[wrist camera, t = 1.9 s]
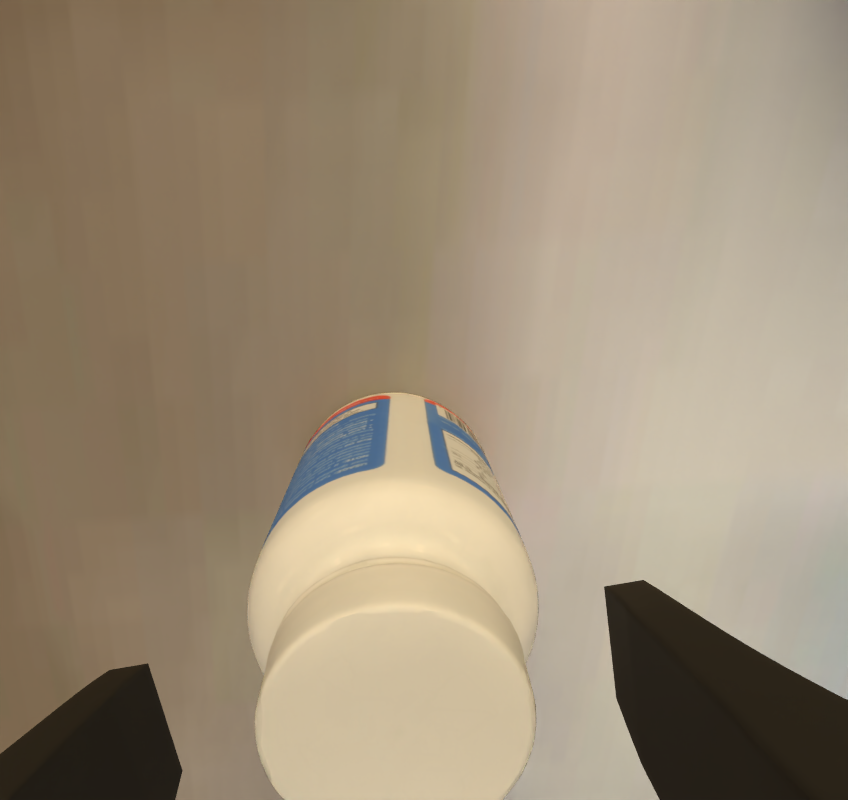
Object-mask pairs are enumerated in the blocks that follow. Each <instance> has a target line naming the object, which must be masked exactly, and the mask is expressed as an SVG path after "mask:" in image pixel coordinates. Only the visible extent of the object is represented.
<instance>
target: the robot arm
mask: <svg viewBox="0 0 848 800" xmlns="http://www.w3.org/2000/svg"><path fill="white" fill-rule="evenodd" d="M604 589H605V598H606V607H607V616H608V625H609V634H610V644H611V653H612V662H613V671H614V680H615V689H616V698H617V701H618V704H619V706H620V709H621V712H622V714H623V717H624V720H625V722H626V725H627V728H628V730H629V733H630V736H631V738H632V741H633V743H634V746H635V748H636V751H637V753H638V756H639V759H640V761H641V764H642V766H643V768H644V770H645V772H646V774H647V776H648V778H649V779H650V781H651V783H652V785H653V787H654V789H655V791H656V793H657V795H658V797H659V799H660V800H848V700H846V699H844V698H842V697H840V696H838V695H836V694H834V693H832V692H830V691H829V690H827V689H825V688H823V687H821V686H819V685H817V684H816V683H814V682H812V681H810V680H808V679H806V678H804V677H802V676H801V675H799V674H797V673H795V672H793V671H791V670H789V669H788V668H786V667H784V666H782V665H780V664H779V663H777V662H775V661H773V660H772V659H770V658H768V657H766V656H765V655H763V654H761V653H759V652H758V651H756V650H754V649H753V648H751V647H749V646H748V645H746V644H744V643H742V642H741V641H739V640H738V639H736V638H734V637H733V636H731V635H729V634H728V633H726V632H724V631H723V630H721V629H720V628H718V627H716V626H715V625H713V624H712V623H710V622H708V621H707V620H705V619H704V618H702V617H701V616H699V615H697V614H696V613H694V612H693V611H691V610H690V609H688V608H687V607H685V606H683V605H682V604H680V603H679V602H677V601H676V600H674V599H673V598H671V597H670V596H668V595H666V594H665V593H663V592H662V591H660V590H659V589H657V588H656V587H654V586H652V585H651V584H649V583H647V582H646V581H644V580H641V581H635V582H629V583H623V584H617V585H611V586H605V587H604ZM181 774H182V768H181V765H180V762H179V759H178V756H177V753H176V749H175V746H174V743H173V740H172V737H171V734H170V731H169V728H168V725H167V721H166V718H165V715H164V712H163V709H162V706H161V703H160V700H159V697H158V693H157V690H156V687H155V684H154V681H153V678H152V675H151V672H150V668H149V665H148V664H143V665H137V666H131V667H125V668H119V669H113V670H109V671H108V672H106V673H105V674H103V675H102V676H100V677H99V678H97V679H96V680H94V681H93V682H92V683H90V684H89V685H87V686H86V687H85V688H83V689H82V690H81V691H79V692H78V693H77V694H75V695H74V696H73V697H72V698H70V699H69V700H68V701H66V702H65V703H64V704H63V705H61V706H60V707H59V708H58V709H56V710H55V711H54V712H52V713H51V714H50V715H49V716H47V717H46V718H45V719H44V720H42V721H41V722H40V723H39V724H37V725H36V726H35V727H34V728H32V729H31V730H30V731H29V732H27V733H26V734H25V735H24V736H22V737H21V738H20V739H19V740H17V741H16V742H15V743H14V744H12V745H11V746H10V747H9V748H7V749H6V750H5V751H4V752H2V753H1V754H0V800H175V798H176V794H177V790H178V786H179V782H180V778H181Z"/></svg>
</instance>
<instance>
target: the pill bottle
mask: <svg viewBox="0 0 848 800" xmlns="http://www.w3.org/2000/svg"><path fill="white" fill-rule="evenodd" d="M538 610H539V607H538V591H537V584H536V578H535V574H534V571H533V568H532V565H531V562H530V559H529V556H528V554H527V551H526V549H525V546H524V543H523V541H522V538H521V536H520V534H519V531H518V529H517V527H516V525H515V522H514V520H513V518H512V515H511V513H510V511H509V508H508V506H507V504H506V502H505V499H504V497H503V495H502V492H501V490H500V488H499V486H498V483H497V480H496V479H495V476H494V474H493V472H492V470H491V467H490V465H489V462H488V460H487V458H486V456H485V453H484V451H483V450H482V448H481V446H480V444H479V442H478V441H477V439H476V437H475V436H474V434H473V433H472V431H471V430H470V429H469V427H468V426H467V425H466V424H465V423H464V422H463V421H462V420H461V419H460V418H459V417H458V416H456V415H455V414H454V413H452V412H451V411H450V410H448V409H447V408H445V407H444V406H442V405H440V404H438V403H436V402H435V401H432V400H429V399H427V398H424V397H421V396H417V395H413V394H408V393H380V394H374V395H369V396H366V397H363V398H360V399H358V400H355V401H353V402H351V403H349V404H347V405H345V406H344V407H342V408H340V409H339V410H337V411H336V412H335V413H333V414H332V415H331V416H330V417H329V418H328V419H327V420H326V421H325V422H324V423H323V424H322V425H321V426H320V427H319V429H318V430H317V431H316V433H315V434H314V435H313V437H312V438H311V440H310V441H309V443H308V444H307V446H306V448H305V450H304V453H303V455H302V457H301V459H300V461H299V464H298V466H297V469H296V471H295V473H294V475H293V477H292V480H291V482H290V484H289V487H288V489H287V491H286V494H285V496H284V498H283V501H282V503H281V505H280V508H279V510H278V512H277V515H276V517H275V519H274V522H273V524H272V526H271V529H270V531H269V533H268V536H267V538H266V540H265V543H264V545H263V547H262V550H261V552H260V555H259V558H258V561H257V563H256V566H255V569H254V572H253V576H252V579H251V583H250V587H249V593H248V606H247V620H248V630H249V637H250V641H251V645H252V648H253V652H254V654H255V657H256V660H257V663H258V665H259V667H260V669H261V671H262V673H263V675H264V678H263V681H262V685H261V689H260V692H259V696H258V701H257V706H256V713H255V739H256V745H257V749H258V754H259V757H260V760H261V763H262V766H263V768H264V770H265V773H266V775H267V777H268V779H269V780H270V782H271V783H272V785H273V786H274V788H275V789H276V791H277V792H278V794H279V795H280V796H281V797H282V798H283V799H284V800H502V799H503V798H504V797H505V796H506V795H507V794H508V792H509V791H510V790H511V789H512V787H513V786H514V785H515V783H516V782H517V780H518V779H519V777H520V776H521V774H522V772H523V770H524V768H525V766H526V764H527V761H528V759H529V756H530V754H531V750H532V747H533V744H534V739H535V730H536V706H535V700H534V695H533V690H532V687H531V683H530V679H529V675H528V672H527V668H526V662H527V660H528V657H529V655H530V653H531V650H532V647H533V643H534V640H535V636H536V630H537V624H538Z"/></svg>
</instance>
